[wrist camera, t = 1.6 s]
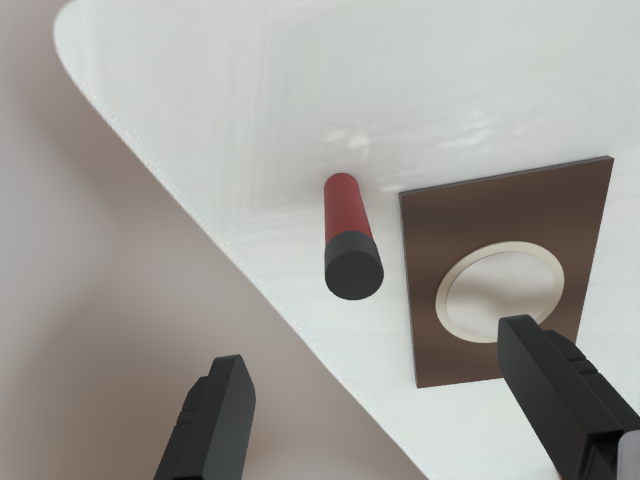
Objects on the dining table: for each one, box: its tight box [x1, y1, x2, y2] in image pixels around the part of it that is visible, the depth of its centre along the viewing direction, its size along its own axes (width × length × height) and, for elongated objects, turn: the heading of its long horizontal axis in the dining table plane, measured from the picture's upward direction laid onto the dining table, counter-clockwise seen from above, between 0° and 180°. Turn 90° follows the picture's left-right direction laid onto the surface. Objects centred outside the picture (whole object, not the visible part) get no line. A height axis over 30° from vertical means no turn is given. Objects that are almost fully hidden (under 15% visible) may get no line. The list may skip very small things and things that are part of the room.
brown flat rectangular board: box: [399, 156, 614, 388], centre depth 28 cm, size 20×14×1 cm
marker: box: [324, 173, 384, 300], centre depth 19 cm, size 2×2×11 cm
